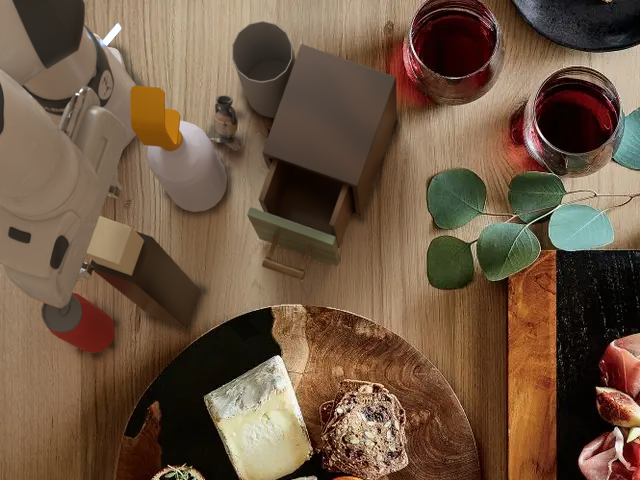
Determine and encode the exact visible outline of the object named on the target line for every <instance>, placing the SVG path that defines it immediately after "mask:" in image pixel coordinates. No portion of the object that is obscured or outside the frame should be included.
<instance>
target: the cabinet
mask: <svg viewBox="0 0 640 480" xmlns="http://www.w3.org/2000/svg"><path fill="white" fill-rule="evenodd" d="M295 59H296V60H295V63H294V66H293V68H292V71H291V74H290V77H289V80H288V82H287V85H286V88H285V91H284V94H283V96H282V99H281V102H280V105H279V108H278V110H277V113H276V116H275V118H273V122H272V124H271V127H270V130H269V133H268V135H267V138H266V142H265V145H264V147H263V150H262V156H263V159H264V161H265V164H266V167H267V169H268V170H269V168H270V166H271V163H272V160H273V159H275V160H278V161H281V162H284V163H287V164H289V165H292V166H295V167H298V168H301V169H304V170H307V171H309V172H312V173H315V174H318V175H321V176H324V177H326V178H329V179H332V180H335V181H338V182H341V183H344V184H346V185H349V186H352V189H353V195H354V202H355V206H354V209H353V212H352V215H353V216H356V217H359V218H362V217H363V214H364V212H365V208H366V206H367V203H368V200H369V198H370V194H371V192H372V188H373V186H374V183H375V181H376V178H377V175H378V172H379V170H380V167H381V164H382V161H383V158H384V155H385V154H386V150H387V147H388V144H389V142H390V140H391V139H390V138H391V135H392V133H393V130H394V127H395V125H396V122H397V119H398V113H397V112H398V111H397V110H398V109H397V101H398V100H397V77H396V76H395V75H392V74H390V73H387V72H384V71H381V70H378V69H375V68H373V67H369V66H366V65H364V64H360V63H358V62H355V61H353V60H350V59H346V58H343V57H341V56H339V55H335V54H332V53H329V52H326V51H323V50H321V49H317V48H315V47H312V46H309V45H306V44H303V43H301V44H300V46H299V49H298V52H297V54H296V56H295Z"/></svg>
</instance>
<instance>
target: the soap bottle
mask: <svg viewBox="0 0 640 480" xmlns="http://www.w3.org/2000/svg"><path fill="white" fill-rule="evenodd" d="M130 109H131V126H132V129H133V131H134V133H135V134H136V135H135V136H136V137H137V139H138V140H139V142H141V144H142V145H143V146H145V147H147V153H146V160H147V163H148V167H149V170H150V171H151V173H152V174H153V175H154V177H155V178H156V180H157V181H158V182H159V184H160V185H161V187H162V188H163V189H164V190H165V192H166V194H167V195H168V196H169V197H170V199H171V200H172V201H173V203H174V204H175V205H177V206H178V207H180V208H181V209H182V210H186V211H189V212H193V213H197V212H205V211H207V210H210V209H212V208H214V207H215V206H216V205H217V204H218V203H219V202H220V201H221V200H222V198H223V197H224V195H225V193H226V190H227V184H228V183H227V182H228V176H227V173H226V170H225V167H224V164H223V163H222V161H221V159H220V157H219V155H218V153H217V151H216V149H215V146H213V143H212V141H211V140H209V139H210V137H208V136H207V133H206V131H204V130H203V129H201V128H200V127H199V126H198V125H196V124H195V123H191V122H188V121H184V120H181V115H180V114H181V113H180V112H179V111H178V110H177V109H174V108H166V93H165V90H164V89H162V88H160V87H155V86H146V85H144V86H143V85H136V86H133V87H132V88H131V90H130Z"/></svg>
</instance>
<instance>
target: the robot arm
mask: <svg viewBox="0 0 640 480" xmlns="http://www.w3.org/2000/svg"><path fill="white" fill-rule="evenodd" d="M85 19H86V3H85V1H84V0H0V265H1V266H3V268H4V272H5V274H6V277H8V279H9V280H10V282H11V283H12V284H14V286H16V288H18V289H19V290H20V291H22V293H24V294H26V295H27V296H28V297H30V298H32V299H34V300H35V301H38V302H41V303H42V304H43V303H46V304H49V305H52V306H55V307H58V308H63V307H64V306H66V305H67V304H68V303H69V301H70V299H71V295H72V293H74V290H75V286H76V284H77V282H78V281H80V280H81V279H85V280H91V277H92V274H93V272H94V271H93V268H94V267H93V266H91V265H90V263H88V262H86V261H85V258H86V256H87V255H86V253H87V250H88V247H89V245H90V242H91V239H92V236H93V233H94V230H95V228H96V225H97V222H98V219H99V216H101V213H102V211H103V208H104V204H105V203H106V199H107V197H108V198H112V199H114V200H119V198H120V196H121V192H122V190H123V185H122V184H121V183H120V182H119V171H118V170H119V169H118V165H119V162H120V160H121V157H122V154H123V151H124V149H125V148H126V147H128V145H129V144H130V143H131V142H132V141H133V140H134V138H135V137H136V136H137V135H136V134H135V133H134V131H133V129H132V126H131V109H130V90H131V88H132V87H133V86H137V84H136V83H135V82H134V81H135V80H133V79H132V77H131V76H130V75H129V73H128V72H127V69H126V64H125V61H124V57H123V55H122V53H120V51H119V50H118V49H117V48H114V47H111V46H110V47H109V46H108V45H109V44H110V42H111V41H112V40H113V39H114V38H115V36H116V35H117V34H118V33H119V32H120V31H121V29H122V27H121V25H120V24H119V23H116V24H115V26H114V27H113V28H112V29H111V30H110V31H109V33H108V34H107V35H106V36H105V38H104V39H102V38H101V37H100V36H99V35H98V34H97V33H95V32H92V30H90V28H89V27H88V26H87V25H85Z"/></svg>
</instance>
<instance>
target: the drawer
mask: <svg viewBox="0 0 640 480" xmlns="http://www.w3.org/2000/svg"><path fill="white" fill-rule="evenodd" d="M258 196H259V197H258V200H257V201H258V202H259V204H260V207H261V209H262V210H261V209H258V208H254V207H251V206H250V207H249V208H248V211H247V214H246V215H247V217H248V219H249V221H250V223H251V226H252V227H253V229H254V232H255V233H256V235H257V237H258V239H259V240H260V241H264V242H267V243H270V246H269V249H268V251H267V254H266V256H264V257H263V259H262V264H261V267H263V268H265V269H268V270H271V271H273V272H277V273H279V274H281V275H285V276H288V277H290V278H293V279H296V280H299V281H304V280H305V276H306V268H307V265H308V262H309V259H310V258H311V259H314V260H317V261H321V262H324V263H326V264H329V265H332V266H335V267H340V263H341V260H342V259H341V253H340V250H339V249H340V248H341V245H342V242H343V240H344V237H345V234H346V231H347V229H348V226H349V223H350V221H351V217H352V215H353V214H352V212H353V209H354V206H355V202H354V195H353V189H352V186H349V185H346V184H344V183H341V182H338V181H335V180H332V179H329V178H326V177H324V176H321V175H318V174H315V173H312V172H309V171H307V170H304V169H301V168H298V167H295V166H292V165H289V164H287V163H284V162H281V161H278V160H275V159H273V160H272V163H271V166H270V168H269V169H268V171H267V174H266V177H265V180H264V182H263V185H262V189H261V190H260V194H259V195H258ZM277 246H278V247H281V248H284V249H286V250H289V251H292V252H295V253H298V254H301V255H304V257H303V259H302V262H301V264H300V266H299V267H300V268H298V267H295V266H292V265H289V264H287V263H284V262H281V261H279V260H276V259H273V255H274V252H275V249H276V247H277Z"/></svg>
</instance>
